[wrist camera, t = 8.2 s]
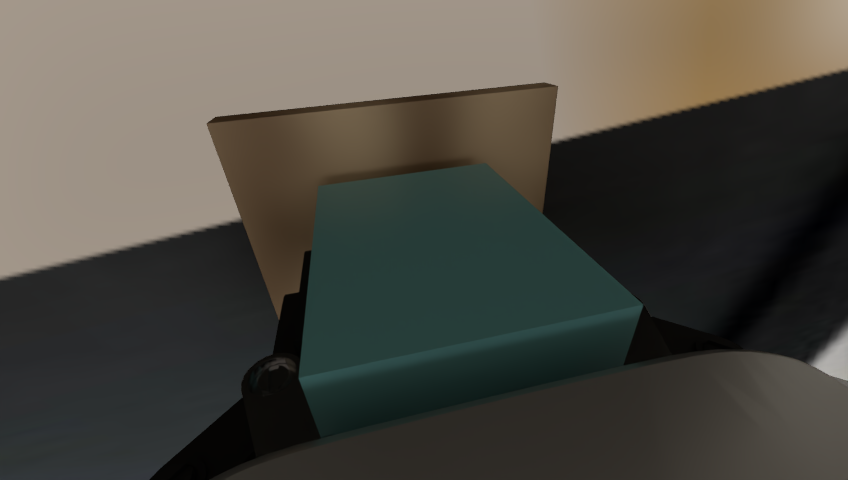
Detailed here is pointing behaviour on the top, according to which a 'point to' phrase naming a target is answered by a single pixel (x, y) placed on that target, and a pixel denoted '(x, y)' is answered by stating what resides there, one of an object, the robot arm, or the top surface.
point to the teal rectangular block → (447, 298)
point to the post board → (371, 157)
